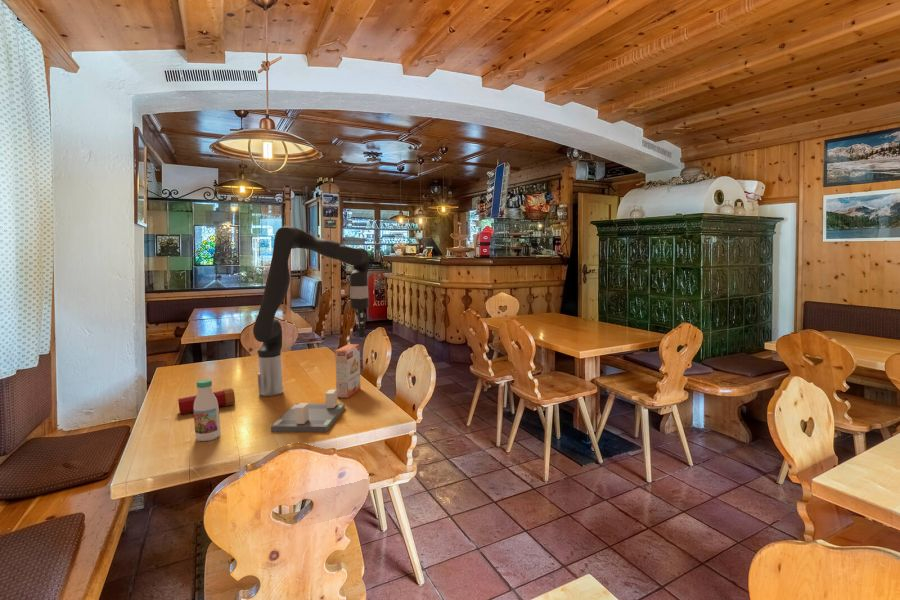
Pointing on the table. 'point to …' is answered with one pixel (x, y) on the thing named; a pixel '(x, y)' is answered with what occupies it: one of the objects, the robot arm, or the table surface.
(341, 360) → the cracker box
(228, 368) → the table surface
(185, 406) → the red tube
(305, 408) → the beige rectangular block
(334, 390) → the handle
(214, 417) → the milk bottle
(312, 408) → the breaker panel
